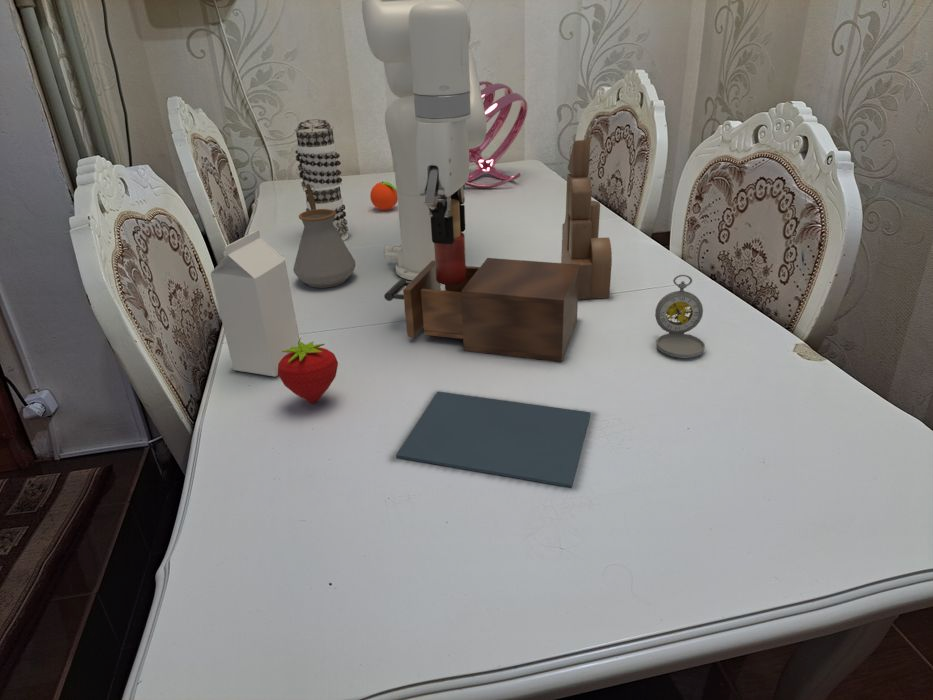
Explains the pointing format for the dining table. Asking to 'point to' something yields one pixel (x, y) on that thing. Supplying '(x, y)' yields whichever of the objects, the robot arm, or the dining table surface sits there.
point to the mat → (499, 438)
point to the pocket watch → (676, 339)
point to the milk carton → (255, 305)
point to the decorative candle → (321, 169)
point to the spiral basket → (490, 111)
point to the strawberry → (308, 370)
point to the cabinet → (520, 308)
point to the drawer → (431, 303)
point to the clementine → (384, 196)
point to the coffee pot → (321, 249)
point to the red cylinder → (451, 253)
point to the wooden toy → (585, 229)
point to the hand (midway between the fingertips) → (449, 235)
